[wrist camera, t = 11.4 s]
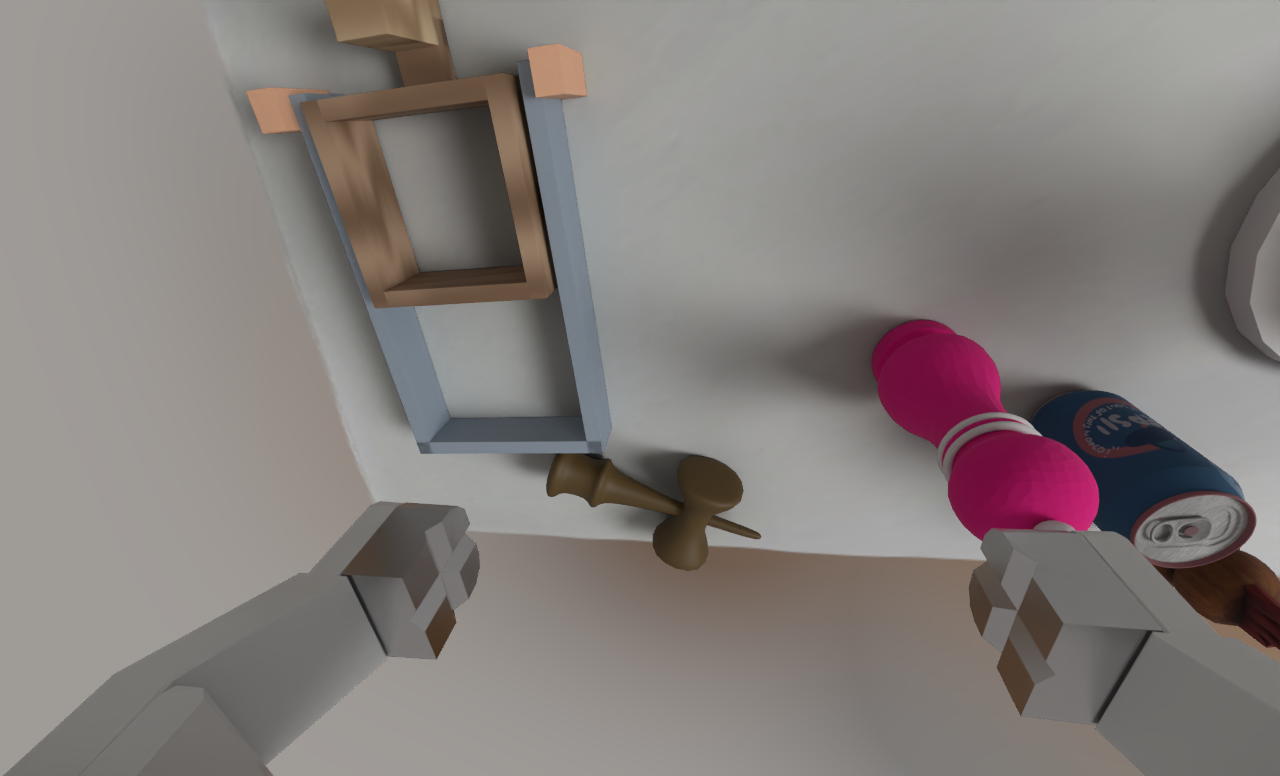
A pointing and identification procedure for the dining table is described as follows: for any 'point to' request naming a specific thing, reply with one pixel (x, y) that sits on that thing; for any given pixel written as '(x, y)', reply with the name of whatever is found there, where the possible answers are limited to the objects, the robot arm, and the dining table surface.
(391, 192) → the wooden square frame
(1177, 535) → the soda can
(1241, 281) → the gramophone
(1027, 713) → the robot arm
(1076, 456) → the pepper mill
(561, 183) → the frame
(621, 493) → the kendama
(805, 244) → the dining table surface
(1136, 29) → the dining table surface
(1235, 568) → the wooden figurine
